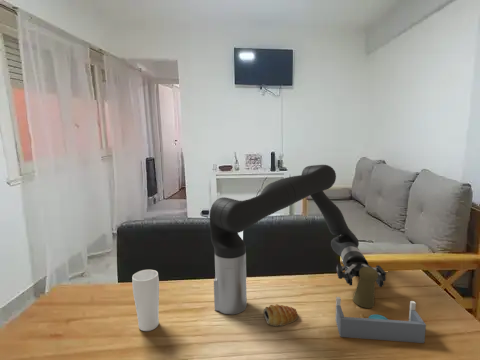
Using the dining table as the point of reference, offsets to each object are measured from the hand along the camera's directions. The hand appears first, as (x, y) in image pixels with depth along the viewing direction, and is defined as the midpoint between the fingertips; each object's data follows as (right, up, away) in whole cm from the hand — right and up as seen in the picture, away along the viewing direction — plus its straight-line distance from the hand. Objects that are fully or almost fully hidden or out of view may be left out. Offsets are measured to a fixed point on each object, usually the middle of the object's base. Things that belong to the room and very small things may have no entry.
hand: (366, 283), depth 90 cm
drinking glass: (-63, -9, -7) cm, 64 cm away
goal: (-2, -9, -10) cm, 14 cm away
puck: (-1, -9, -11) cm, 14 cm away
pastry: (-27, -9, -5) cm, 28 cm away
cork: (0, -6, +2) cm, 7 cm away
